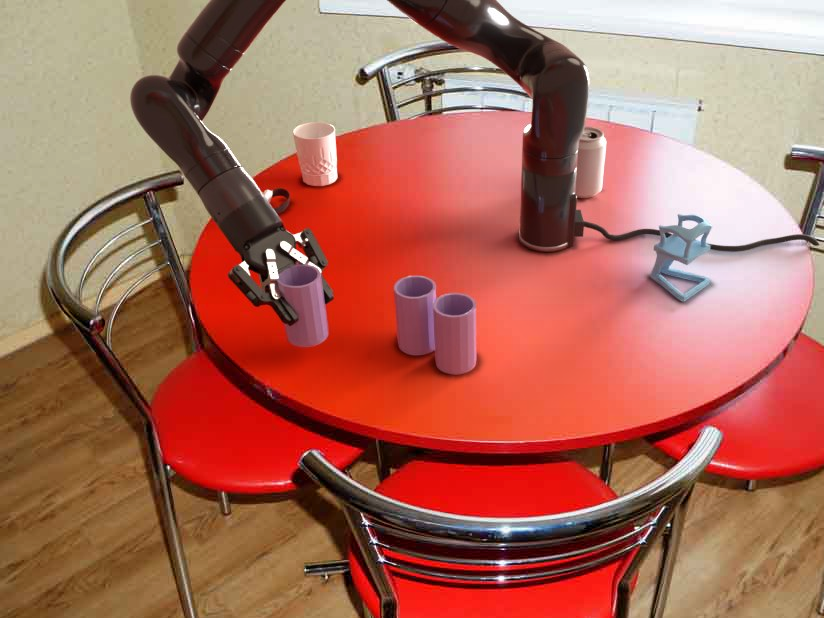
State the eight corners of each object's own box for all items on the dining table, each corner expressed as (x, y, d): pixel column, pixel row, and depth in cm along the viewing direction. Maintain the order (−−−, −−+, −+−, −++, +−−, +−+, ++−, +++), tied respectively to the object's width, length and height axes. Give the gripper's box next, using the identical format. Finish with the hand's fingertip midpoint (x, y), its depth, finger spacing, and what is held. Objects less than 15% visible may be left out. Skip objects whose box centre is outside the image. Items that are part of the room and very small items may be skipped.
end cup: (330, 322, 124) (322, 263, 118) (326, 346, 119) (318, 287, 113) (289, 323, 124) (279, 264, 117) (284, 347, 119) (273, 287, 113)
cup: (475, 348, 125) (475, 292, 119) (477, 374, 121) (476, 316, 115) (435, 350, 125) (432, 293, 119) (435, 375, 120) (432, 317, 114)
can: (603, 200, 162) (609, 140, 154) (563, 199, 162) (567, 140, 154) (600, 182, 168) (605, 124, 160) (562, 181, 168) (566, 123, 160)
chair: (668, 264, 144) (678, 200, 137) (710, 283, 140) (723, 218, 132) (641, 282, 140) (650, 217, 132) (683, 302, 135) (695, 236, 128)
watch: (276, 197, 161) (273, 179, 159) (297, 202, 160) (294, 184, 158) (252, 215, 156) (249, 197, 153) (274, 220, 154) (271, 202, 152)
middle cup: (438, 331, 129) (435, 274, 122) (438, 354, 124) (435, 297, 118) (398, 332, 128) (394, 275, 122) (397, 356, 124) (393, 298, 118)
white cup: (306, 191, 163) (299, 141, 157) (294, 174, 169) (287, 126, 162) (346, 183, 166) (340, 134, 160) (332, 167, 172) (327, 119, 165)
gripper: (206, 218, 108) (283, 328, 110) (291, 178, 117) (361, 280, 119) (188, 241, 114) (262, 345, 116) (270, 202, 123) (338, 298, 125)
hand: (312, 312), depth 118 cm, fingers closed on end cup, 6 cm apart
